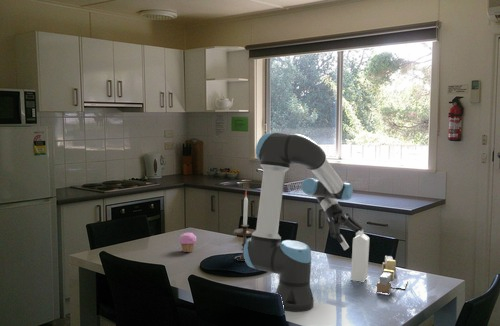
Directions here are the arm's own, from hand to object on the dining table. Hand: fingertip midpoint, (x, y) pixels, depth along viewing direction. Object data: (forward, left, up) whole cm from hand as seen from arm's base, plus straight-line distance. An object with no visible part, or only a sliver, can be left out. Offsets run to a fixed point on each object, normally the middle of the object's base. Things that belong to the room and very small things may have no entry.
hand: (356, 246), depth 219 cm
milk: (-1, -3, -14) cm, 15 cm away
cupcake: (-51, +69, -14) cm, 87 cm away
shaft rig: (+8, -12, -14) cm, 20 cm away
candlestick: (-32, +45, -14) cm, 57 cm away
